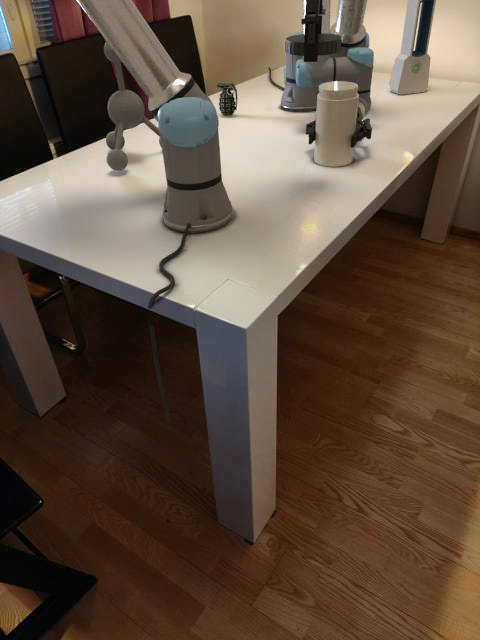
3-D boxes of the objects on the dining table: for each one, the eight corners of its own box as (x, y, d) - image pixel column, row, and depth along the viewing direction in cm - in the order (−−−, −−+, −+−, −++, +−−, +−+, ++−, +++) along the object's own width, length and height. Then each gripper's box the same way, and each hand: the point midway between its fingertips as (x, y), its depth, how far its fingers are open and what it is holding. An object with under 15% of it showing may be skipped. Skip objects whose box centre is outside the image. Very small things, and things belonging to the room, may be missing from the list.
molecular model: (191, 162, 134) (177, 38, 116) (111, 177, 129) (83, 48, 110) (169, 138, 152) (153, 27, 134) (98, 150, 146) (72, 36, 128)
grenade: (217, 117, 168) (214, 86, 162) (221, 112, 172) (219, 82, 166) (235, 117, 166) (233, 86, 160) (239, 113, 171) (238, 82, 165)
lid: (281, 48, 105) (281, 35, 104) (333, 44, 106) (334, 31, 104) (290, 57, 96) (290, 43, 95) (347, 53, 97) (348, 40, 95)
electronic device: (397, 95, 179) (411, -2, 161) (387, 90, 185) (399, -4, 166) (427, 91, 181) (444, -5, 163) (416, 87, 187) (431, -7, 169)
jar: (324, 150, 137) (328, 79, 126) (358, 156, 132) (366, 82, 121) (307, 162, 130) (309, 88, 119) (342, 169, 126) (348, 92, 114)
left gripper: (337, -83, 79) (328, 67, 92) (340, -79, 97) (332, 45, 110) (291, -80, 80) (288, 67, 93) (302, -77, 98) (299, 46, 112)
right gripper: (388, 132, 139) (374, 159, 123) (310, 127, 146) (288, 151, 130) (391, 104, 134) (378, 128, 118) (311, 100, 142) (288, 122, 126)
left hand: (312, 56), depth 102 cm, fingers closed on lid, 11 cm apart
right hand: (331, 140), depth 124 cm, fingers closed on jar, 10 cm apart
